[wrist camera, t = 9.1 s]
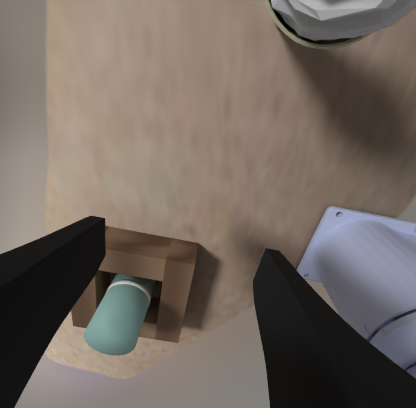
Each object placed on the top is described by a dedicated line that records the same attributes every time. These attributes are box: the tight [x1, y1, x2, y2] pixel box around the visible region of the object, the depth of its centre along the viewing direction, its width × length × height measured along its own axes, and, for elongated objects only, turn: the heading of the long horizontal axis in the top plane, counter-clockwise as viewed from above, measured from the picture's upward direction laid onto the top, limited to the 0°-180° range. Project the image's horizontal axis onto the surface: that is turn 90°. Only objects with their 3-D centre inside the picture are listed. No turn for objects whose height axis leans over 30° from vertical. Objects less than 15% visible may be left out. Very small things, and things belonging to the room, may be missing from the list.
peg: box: [84, 273, 157, 355], centre depth 20 cm, size 4×4×7 cm
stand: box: [71, 226, 198, 343], centre depth 22 cm, size 11×11×3 cm
